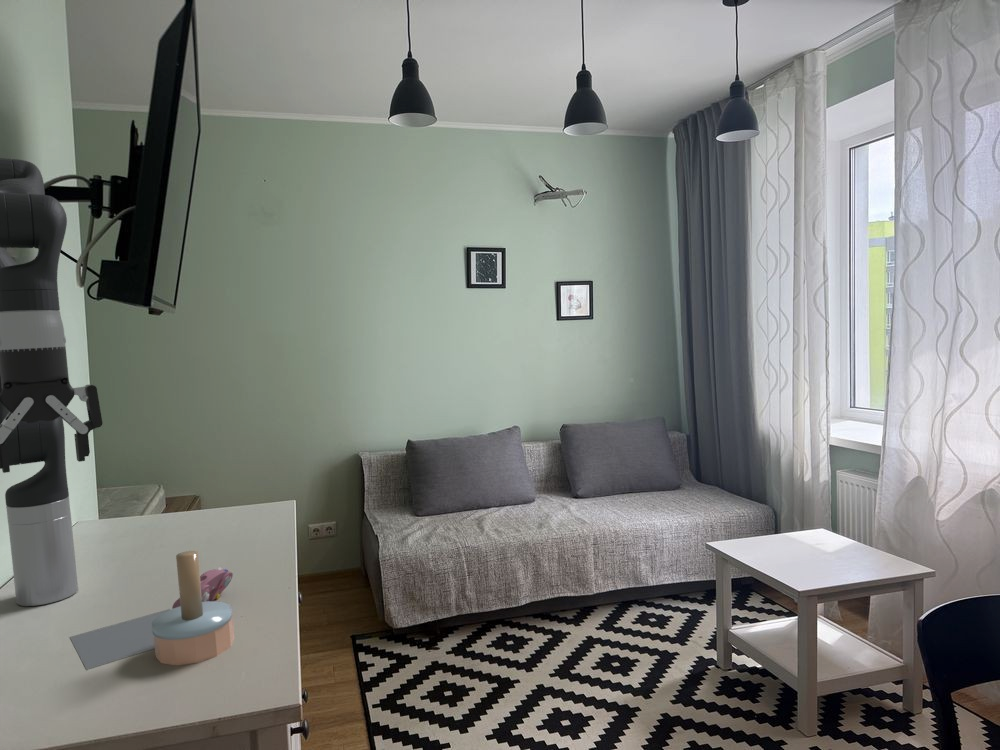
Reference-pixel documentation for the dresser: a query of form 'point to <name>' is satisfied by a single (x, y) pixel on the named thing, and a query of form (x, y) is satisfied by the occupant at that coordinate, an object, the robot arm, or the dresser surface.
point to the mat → (115, 641)
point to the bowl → (195, 646)
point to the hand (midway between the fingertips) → (44, 466)
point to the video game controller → (212, 584)
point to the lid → (190, 606)
